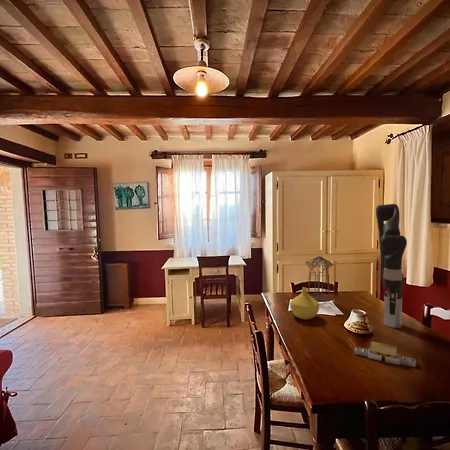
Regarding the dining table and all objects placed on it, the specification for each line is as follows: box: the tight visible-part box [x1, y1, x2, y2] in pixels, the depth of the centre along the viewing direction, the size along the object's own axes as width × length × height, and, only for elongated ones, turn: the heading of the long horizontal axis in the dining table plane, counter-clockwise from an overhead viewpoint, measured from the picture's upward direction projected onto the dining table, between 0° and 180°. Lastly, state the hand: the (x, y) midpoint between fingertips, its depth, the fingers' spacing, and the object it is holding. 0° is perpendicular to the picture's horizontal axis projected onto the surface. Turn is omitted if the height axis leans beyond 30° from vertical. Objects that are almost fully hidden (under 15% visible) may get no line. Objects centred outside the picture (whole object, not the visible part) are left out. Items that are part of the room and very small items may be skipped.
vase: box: [289, 286, 320, 320], centre depth 185 cm, size 18×18×19 cm
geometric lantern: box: [305, 255, 334, 306], centre depth 212 cm, size 16×16×35 cm
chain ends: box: [353, 346, 417, 368], centre depth 133 cm, size 6×25×3 cm, turn 61°
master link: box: [370, 340, 398, 358], centre depth 133 cm, size 3×10×6 cm, turn 61°
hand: (392, 311), depth 134 cm, fingers open, 8 cm apart
